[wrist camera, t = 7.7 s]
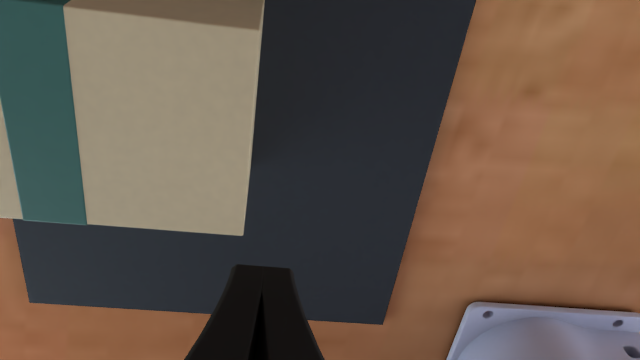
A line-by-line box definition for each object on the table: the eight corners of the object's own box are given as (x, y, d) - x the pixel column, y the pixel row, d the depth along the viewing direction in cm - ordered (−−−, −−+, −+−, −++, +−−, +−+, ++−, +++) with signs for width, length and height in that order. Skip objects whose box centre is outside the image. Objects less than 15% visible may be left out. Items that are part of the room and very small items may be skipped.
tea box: (260, 28, 14) (-108, -17, 13) (242, 237, 18) (-45, 215, 17) (265, -11, 18) (-18, -48, 17) (250, 167, 22) (17, 146, 21)
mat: (509, -128, 17) (512, -127, 16) (381, 320, 27) (382, 325, 27) (-71, -225, 15) (-78, -227, 14) (31, 298, 25) (29, 302, 25)
